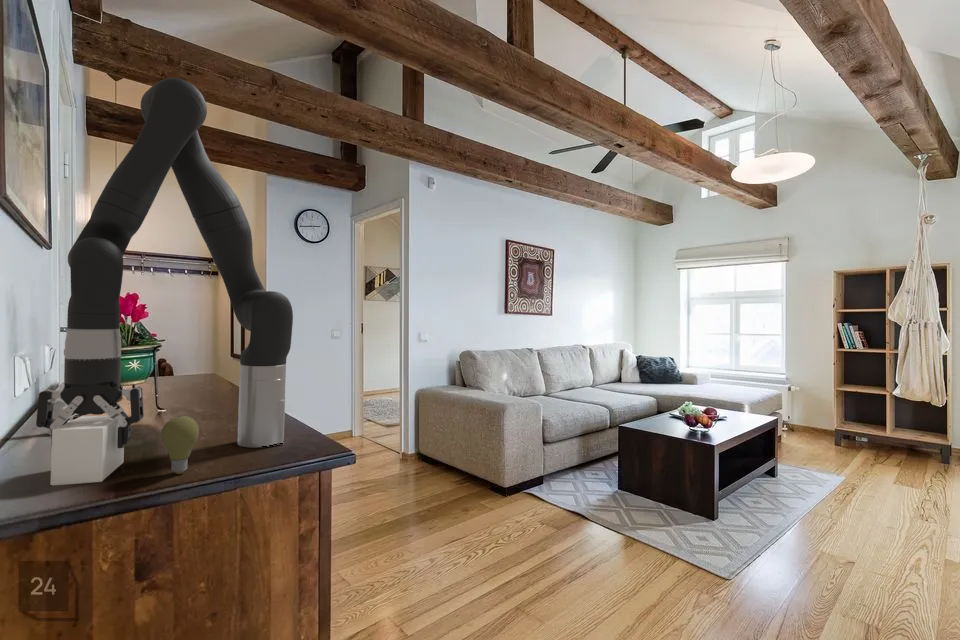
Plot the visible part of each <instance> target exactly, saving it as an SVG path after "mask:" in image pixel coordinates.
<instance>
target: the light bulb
mask: <svg viewBox="0 0 960 640" xmlns="http://www.w3.org/2000/svg"><path fill="white" fill-rule="evenodd" d="M160 434H161V440H162V443H163V445H164V447H165V448H166V451H167V453H168V457H169V459H170V463H171V465H170V467H171V468H170V470H171V472H173V473H174V474H175V475H182V474H183V473H184V472H185V471H186V470H187V469H188V460H189V457H190V456H191V453H192V450H193V449H192V448H193V447H194V445H195V444H196V442H197V439H198V437H199V434H200V427H199V425H198V423H197V421H196V420H195V419H194V418H192V417H190V416H185V415H180V416H174V417H172V418H171V419H169V420H168V421H167V422H166V423H165V424H164V426H163V427H162V429H161V433H160Z"/></svg>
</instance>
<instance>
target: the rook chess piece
mask: <svg viewBox="0 0 960 640" xmlns="http://www.w3.org/2000/svg"><path fill="white" fill-rule="evenodd" d="M67 406H68V405H67V404H66V403H65V402H64V401H63V400H62V399H61V397H59V399H58V401H57V402H55V403H54V408H53V418H52V419H55V420H56V419H57V418H58V417H59V415H60V414H61V413H62V412H63V410H64V409H65V408H66V407H67ZM70 421H71V420H69V421H68V422H70ZM68 422H67V423H68ZM46 429H47V432H46V434H47V435H48V434H49V436H51V433H52V432H51V430H50V429H49V428H46Z"/></svg>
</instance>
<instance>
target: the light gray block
mask: <svg viewBox="0 0 960 640" xmlns="http://www.w3.org/2000/svg"><path fill="white" fill-rule="evenodd" d="M69 421H70V422H68V423H66V424H64V425H62V426H60V427H58V428H56V429H54V430H52V447H51V458H50V459H51V460H50V461H51V462H50V483H49V484H50V485H52V486H64V485H77V484H88V483H89V484H91V483H102V482H103V481H104V480H105V479H106V478H108V477H109V476H110V475H111V474H112V473H113V472H114V471H115V470H117V469H118V468H119V467H120V466H121V465H122V464H124V460H125V459H124V458H125V457H124V455H125V447H124V448H117V440H118V427H120V426H119V425H118V423H117V422H116V421H115V420H114V419H113V418H110V417H109V416H108V415H80V416H78V417H77V418H75V419H73V420H72V419H71V420H69Z"/></svg>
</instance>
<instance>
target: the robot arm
mask: <svg viewBox="0 0 960 640" xmlns="http://www.w3.org/2000/svg"><path fill="white" fill-rule="evenodd" d="M207 110H208V105H207V103H206V100H205V97H204V95H203V94H202V92H201V91H200V90H199V89H198V88H197V87H196V86H195V85H194V84H192V83H191V82H189V81H188V80H185V79H182V78H176V77H169V78H164V79H161V80H159V81H157V82H155V83H154V84H153V85H152V86H150V88H148V90H146V91H145V92H144V94H143V95H142V97H141V100H140V111H141V115H142V118H143V120H144V124H143V126H142V129H141V131H140V132H139V135H138V136H137V138H136V140H135V142H134V144H133V145H132V146H131V148H130V149H129V151H128V152H127V154H126V155H125V156H124V158H123V159H122V160H121V161H120V163H119V165H118V166H117V167H116V168H115V170H114V172H113V173H112V175H111V176H110V178H109V179H108V181H107V183H106V184H105V186H104V188H103V189H102V191H101V193H100V195H99V197H98V199H97V201H96V203H95V205H94V206H93V209H92V212H91V215H90V217H89V220H88V221H87V223H86V224H85V226H84V227H83V229H82V230H81V232H80V234H79V235H78V237H77V239H76V241H74V243H73V245H72V247H71V248H70V250H69V252H68V255H67V263H68V266H69V269H70V297H69V300H68V303H67V304H68V305H67V320H66V321H67V322H66V325H67V326H66V327H67V328H66V335H65V340H64V341H65V342H64V349H63V355H64V365H63V367H64V370H63V371H64V372H63V373H64V375H63V385H64V386H63V389H62V390H55V389H52V388H49V389H46V390H43V391H40V392H39V394H38V401H37V412H36V413H37V414H36V421H35V426H36V427H38V428H46V429H47V428H49V429H50V430H51V432H52V430H54V429H56V428H58V427H60V426H62V425H64V424H66V423H67V422H68V421H71V420H72V418H73V417H75V415H78V416H88V415H93V416H102V415H103V414H107V415H108V416H109V417H110V418H113V419H114V420H115V421H116V422H117V423H118V425H119V426H120V427H118V440H117V448H124V449H125V447H126V446H127V444H129V443H130V441H131V431H132V430H131V426H132V424H135V423H138V422H140V421H141V420H143V419H144V416H145V415H144V400H143V399H144V398H143V396H144V394H143V388H142V387H141V386H136V387H133V388H124V389H123V387H122V385H121V379H122V376H121V375H122V374H121V373H122V338H121V332H120V331H121V330H120V328H121V303H120V297H121V296H120V295H121V289H122V284H123V275H124V254H125V253H126V250H127V248H128V246H129V243H130V242H131V240H132V238H133V236H135V235H136V234H137V232H138V231H139V230H140V229H141V227H142V225H143V223H144V221H145V219H146V217H147V215H148V213H149V212H150V210H151V208H152V206H153V204H154V201H155V199H156V197H157V195H158V193H159V192H160V191H159V190H161V189H160V188H161V187H162V185H163V183H164V181H165V178H166V177H167V174H168V173H169V171H170V170H171V169H172V172H173V173H174V177H175V179H176V181H177V184H178V186H179V188H180V190H181V193H182V195H183V197H184V200H185V202H186V204H187V206H188V208H189V211H190V213H191V215H192V219H193V221H194V222H195V225H196V226H197V228H198V230H199V233H200V235H201V237H202V239H203V241H204V243H205V244H206V247H207V249H208V251H209V253H210V255H211V257H212V259H213V262H214V264H215V265H216V268H217V271H219V274H220V276H221V278H222V282H223V283H224V285H225V289H226V292H227V295H228V298H229V302H230V303H231V307H232V310H233V313H234V315H235V317H236V320H237V322H238V323H239V324H240V326H241V327H243V328H244V329H245V330H246V331H249V332H250V334H249V343H248V345H247V347H246V348H244V350H243V349H242V351H241V353H240V359H239V361H240V362H239V384H238V385H239V387H238V390H239V391H238V414H237V416H238V417H237V418H238V419H237V445H238V447H244V448H263V447H262V446H267V447H270V446H269V445H273V444H277V443H283V444H284V442H283V441H284V440H285V413H286V411H285V410H286V380H287V379H286V378H287V357H288V355H289V353H290V351H291V348H292V347H291V346H292V335H293V334H292V333H293V325H294V324H293V323H294V320H293V319H294V314H293V313H294V312H293V306H292V304H291V301H290V300H289V298H288V297H287V296H286V295H285V294H283V293H281V292H278V291H275V290H274V291H271V290H268V291H267V290H266V289H265V287H264V286H263V284H262V282H261V280H260V277H259V275H258V272H257V271H256V267H255V263H254V257H253V256H254V252H253V250H254V249H253V248H254V247H253V235H252V229H251V226H250V223H249V220H248V218H247V216H246V213H245V211H244V209H243V206H242V204H241V202H240V200H239V198H238V196H237V193H235V191H234V190H233V189H232V187H231V186H230V185H229V183H228V182H227V181H226V180H225V178H223V176H222V175H221V174H220V172H219V171H218V170H217V169H216V168H215V166H214V164H213V163H212V162H211V160H210V158H209V156H208V153H207V152H206V149H205V147H204V144H203V142H202V139H201V136H200V134H199V130H198V129H200V128H201V127H202V126H203V124H204V122H205V120H206V118H207V115H208V111H207ZM123 396H124V397H125V398H126V400H127V401H128V402H130V416H129V415H128V413H127V412H125V408H124V407H123V406H121V405H120V403H119V400H121V398H122V397H123ZM59 397H61V399H62V400H63V401H64V402H65V403H66V404H67V405H68V406H67V407H66V408H65V409H64V410H63V412H62V413H61V414H60V415H59V417H58V418H57V419H56V420H55V419H52V418H53V413H54V411H53V408H54V403H55V402H57V401H58V399H59ZM107 415H106V416H107ZM50 436H51V437H50V438H51V440H50V441H51V443H50V445H51V446H50V447H51V448H52V433H51V435H50ZM277 445H278V444H277ZM273 446H274V445H273Z"/></svg>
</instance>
